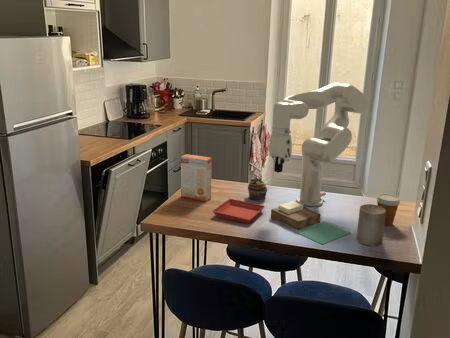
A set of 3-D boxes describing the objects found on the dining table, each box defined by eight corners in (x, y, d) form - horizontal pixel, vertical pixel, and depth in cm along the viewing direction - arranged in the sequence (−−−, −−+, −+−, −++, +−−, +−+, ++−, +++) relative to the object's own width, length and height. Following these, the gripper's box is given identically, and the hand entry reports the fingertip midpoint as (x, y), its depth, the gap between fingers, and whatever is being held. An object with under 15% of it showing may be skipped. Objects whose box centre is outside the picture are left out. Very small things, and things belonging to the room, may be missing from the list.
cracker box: (211, 198, 212) (212, 157, 206) (205, 202, 207) (206, 160, 201) (186, 193, 218) (186, 153, 212) (180, 197, 212) (180, 156, 206)
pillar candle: (374, 234, 177) (378, 200, 172) (386, 245, 167) (391, 209, 163) (351, 236, 175) (355, 201, 171) (363, 247, 166) (367, 210, 162)
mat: (323, 221, 188) (323, 221, 188) (350, 233, 178) (350, 232, 178) (295, 231, 177) (295, 231, 177) (322, 244, 167) (322, 244, 167)
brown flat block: (292, 210, 199) (293, 202, 198) (319, 222, 187) (320, 213, 186) (270, 217, 191) (271, 209, 190) (297, 230, 179) (298, 221, 178)
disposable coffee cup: (385, 229, 182) (389, 202, 179) (368, 220, 190) (372, 195, 187) (401, 225, 186) (405, 199, 183) (384, 217, 194) (388, 192, 191)
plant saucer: (265, 212, 198) (265, 205, 197) (249, 226, 182) (250, 219, 181) (229, 204, 205) (229, 198, 204) (211, 218, 190) (211, 211, 189)
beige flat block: (292, 205, 195) (293, 201, 194) (302, 209, 191) (303, 205, 190) (278, 209, 190) (278, 205, 189) (288, 213, 185) (288, 209, 185)
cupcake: (262, 202, 208) (263, 182, 205) (244, 199, 212) (245, 179, 209) (269, 196, 217) (270, 177, 214) (251, 193, 221) (252, 174, 218)
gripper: (299, 133, 184) (296, 174, 189) (274, 127, 195) (272, 166, 200) (287, 135, 179) (284, 177, 185) (262, 128, 191) (260, 168, 196)
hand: (278, 171), depth 192 cm, fingers closed
